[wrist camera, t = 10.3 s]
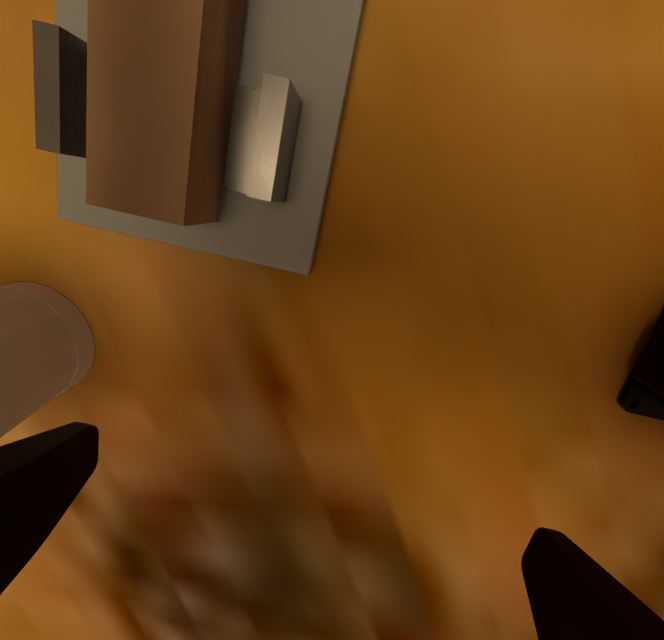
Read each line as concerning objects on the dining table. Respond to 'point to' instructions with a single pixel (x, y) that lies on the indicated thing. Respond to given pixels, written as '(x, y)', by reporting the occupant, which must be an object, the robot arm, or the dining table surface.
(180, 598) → the dining table surface
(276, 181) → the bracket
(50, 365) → the cup
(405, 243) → the dining table surface
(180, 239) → the board
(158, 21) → the rail
